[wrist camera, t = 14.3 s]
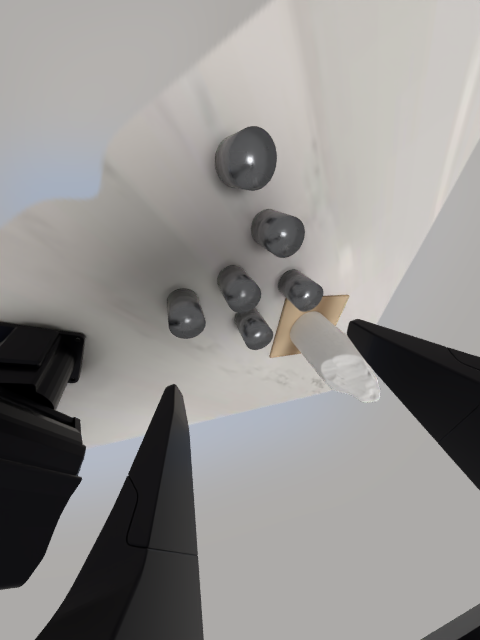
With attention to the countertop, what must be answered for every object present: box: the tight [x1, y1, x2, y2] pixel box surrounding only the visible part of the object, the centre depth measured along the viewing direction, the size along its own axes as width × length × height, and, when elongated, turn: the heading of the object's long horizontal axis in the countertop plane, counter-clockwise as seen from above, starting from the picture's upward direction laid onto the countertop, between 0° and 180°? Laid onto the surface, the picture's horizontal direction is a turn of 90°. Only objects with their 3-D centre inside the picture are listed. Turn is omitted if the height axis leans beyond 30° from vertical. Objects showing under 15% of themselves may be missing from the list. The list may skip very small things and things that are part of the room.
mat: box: [270, 295, 349, 358], centre depth 30 cm, size 10×10×1 cm
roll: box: [290, 311, 380, 403], centre depth 25 cm, size 6×12×6 cm
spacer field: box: [167, 126, 323, 350], centre depth 20 cm, size 16×14×4 cm
